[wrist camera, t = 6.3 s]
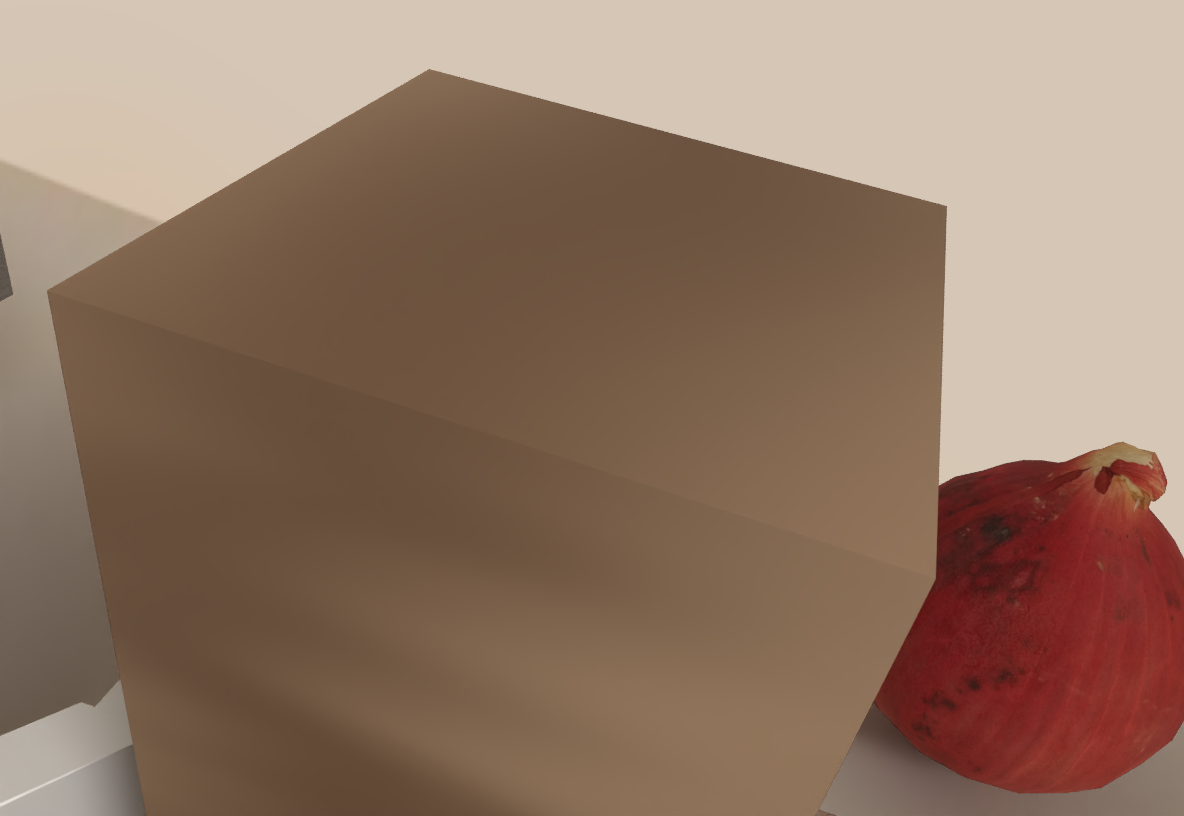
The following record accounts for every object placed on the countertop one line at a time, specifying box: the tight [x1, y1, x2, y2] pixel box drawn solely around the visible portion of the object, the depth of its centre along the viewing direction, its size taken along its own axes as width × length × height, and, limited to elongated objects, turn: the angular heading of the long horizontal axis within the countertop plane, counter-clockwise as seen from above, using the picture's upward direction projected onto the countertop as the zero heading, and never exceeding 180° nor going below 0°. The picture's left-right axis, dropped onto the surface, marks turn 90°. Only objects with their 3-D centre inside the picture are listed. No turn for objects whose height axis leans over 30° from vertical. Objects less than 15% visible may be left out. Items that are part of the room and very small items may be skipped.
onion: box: [874, 442, 1184, 793], centre depth 18 cm, size 6×6×8 cm
